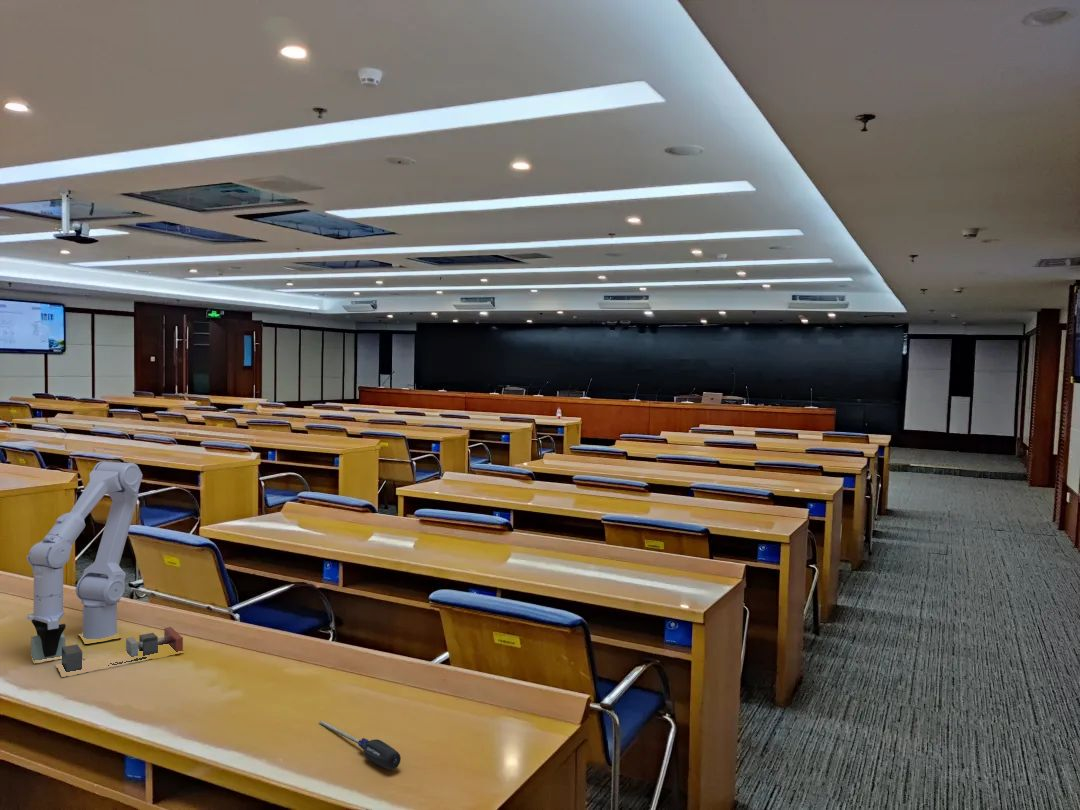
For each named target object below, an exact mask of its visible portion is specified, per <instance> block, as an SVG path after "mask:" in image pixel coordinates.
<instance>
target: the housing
mask: <svg viewBox="0 0 1080 810" xmlns="http://www.w3.org/2000/svg"><path fill="white" fill-rule="evenodd" d="M65 646H66V636H65V634H64V633H62V635H61V637H60V640H59V644H58V648H57V652H56V655H54V656H48V657H45V656H44V653H43V648H42V642H41V638H40V636H39V635H33V636H31V638H30V656H31V655H32V658H33V660H34V661H35V660H42V659H47V658H54V657H60V656H62V647H65Z"/></svg>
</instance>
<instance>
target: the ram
mask: <svg viewBox="0 0 1080 810" xmlns="http://www.w3.org/2000/svg"><path fill="white" fill-rule="evenodd" d="M163 629H164V632H163V636H164V637H158V645H163V644H169V645H170V646H171V647H172V648H173V649H174V650H175V651H176V652H178V651H184V650H183V649H184V647H183V646H184V645H183V643H184V637H183V636H181V635H180V633H178V632H177V631H176V630H175V629H174V628H173V627H171V626H169V627H164V628H163ZM142 648H143V641H142V642H139V641H138V640H137V639H136V638H135V637H134V636H132V637H127V638H126V637H125V651H127V653H128V654H129V655H130V656H131V657H134V656H138V649H142Z"/></svg>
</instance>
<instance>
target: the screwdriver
mask: <svg viewBox="0 0 1080 810" xmlns="http://www.w3.org/2000/svg"><path fill="white" fill-rule="evenodd" d="M318 724H320V726H323V727H324V728H327V729H328V730H329V731H333V732H334V733H336V734H338V735H340V736H343V737H344V738H346V739H348V740H350V741H351V742H353V743H355V744H357V745H358V746H359V748H361V749H362V750H363V753H364V757H366V759H367V760H368V761H369V762H370V763H372V764H373V765H376V766H379V767H381V768H383V769H387V770H390V771H391V770H395V769H397V768H398V767H399V766H400V763H401V759H402V758H401V754H400V753H399V752H398V751H397V750H396V749H395V748H394V747H391V746H390V745H389V744H387V743H386V742H385V741H383V740H381V739H378V738H376V739H371V740H368V739H367V738H365V737H362V738H361V739H358V738H356V737H355V736H352V735H351V734H349V733H346V732H345V731H343V730H340V729H338V728H336V727H335V726H333V725H331V724H328V723H326V722H325V721H323V720H319V721H318Z"/></svg>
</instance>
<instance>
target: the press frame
mask: <svg viewBox="0 0 1080 810" xmlns="http://www.w3.org/2000/svg"><path fill="white" fill-rule="evenodd" d="M158 638H159V637H158V636H157V635H156V634H155V633H154V632H149V633H145V634H140V635H139V639H138V640H139V641H138V642H142V641H143V648H142V649H139V651H143V656H145V655H150V654H154V653H158ZM146 658H147V657H142V658H139V659H138V658H136V659H134V660H131V661H126V662H132V661H138V660H142V659H146ZM82 659H83V651H82V649H81V648H80V646H79V644H78V643H77V644H71V645H65V647H62V659H61V663H62V665H63V667H64V669H65V671H66V672H70V671H76V670H81V669H82ZM126 662H124V663H126ZM115 663H117V664H122V663H123V661H122V662H119V663H118V662H115ZM110 664H112V663H110ZM117 664H114V663H113V664H112V665H117ZM108 666H109V665H108Z"/></svg>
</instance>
